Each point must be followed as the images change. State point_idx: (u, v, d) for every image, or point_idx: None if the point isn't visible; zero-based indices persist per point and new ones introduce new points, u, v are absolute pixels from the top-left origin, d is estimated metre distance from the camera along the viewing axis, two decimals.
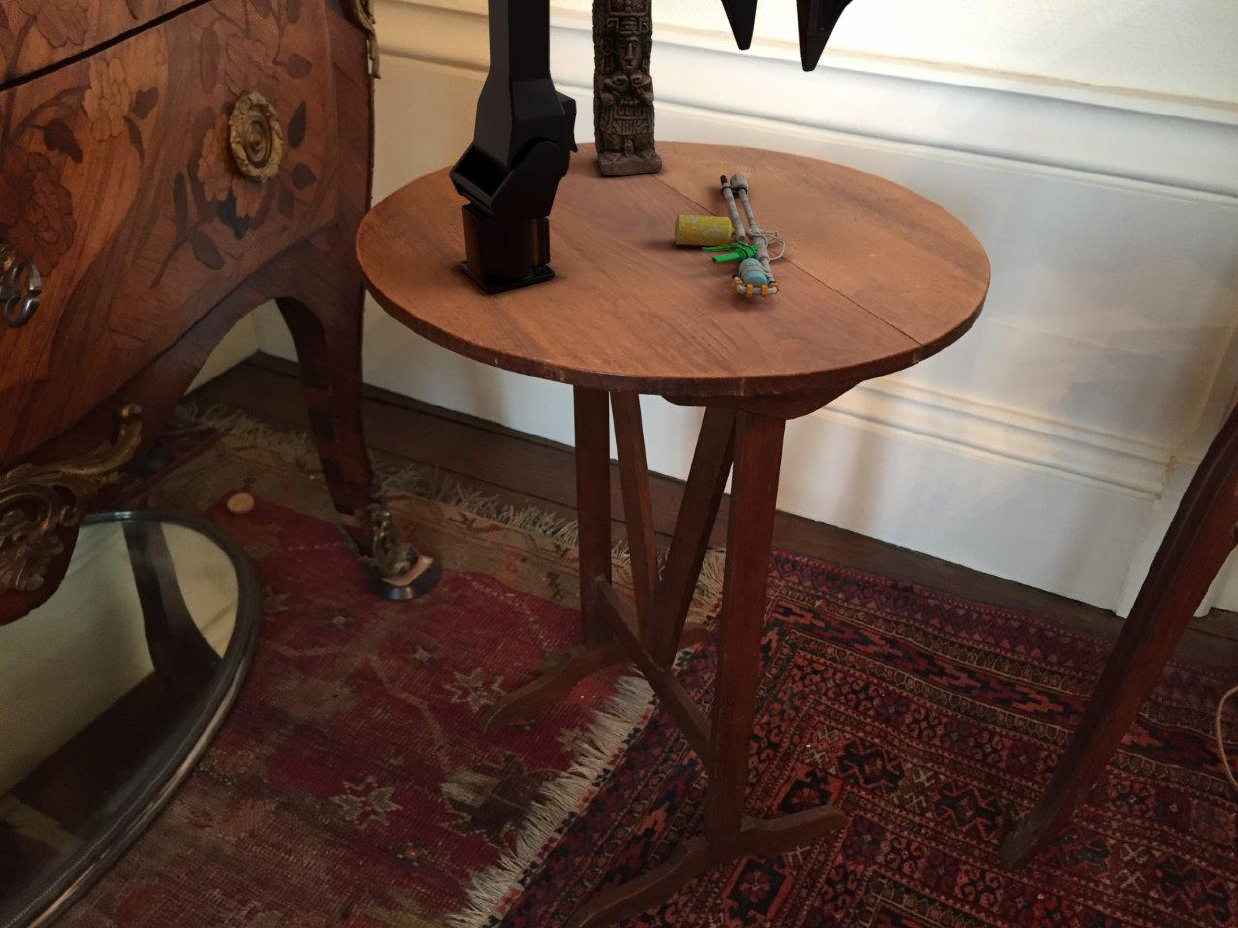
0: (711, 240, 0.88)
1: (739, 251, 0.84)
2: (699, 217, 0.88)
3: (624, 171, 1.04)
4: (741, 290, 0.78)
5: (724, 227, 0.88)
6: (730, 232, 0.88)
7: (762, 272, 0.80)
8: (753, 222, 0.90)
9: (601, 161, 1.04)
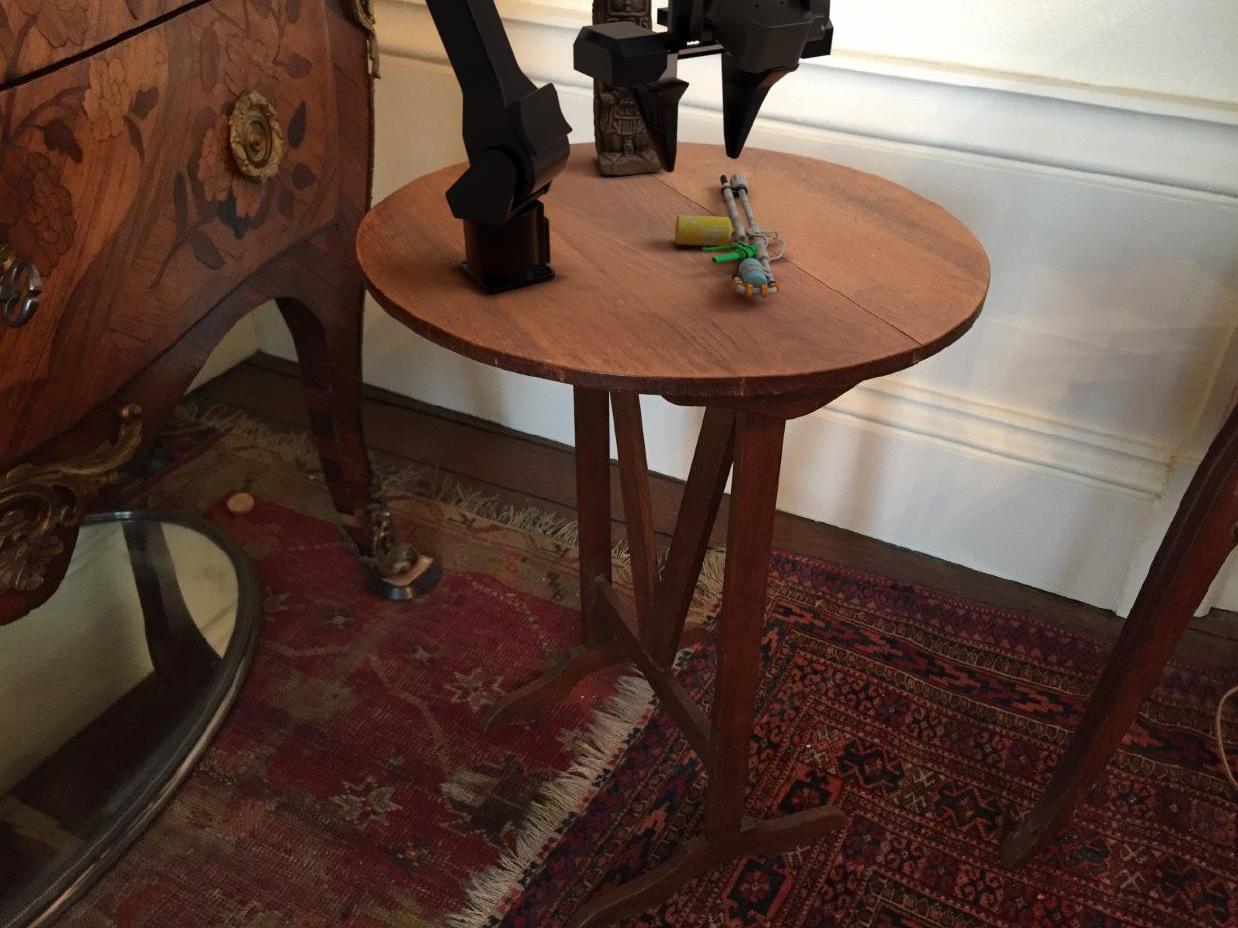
0: (711, 240, 0.88)
1: (739, 251, 0.84)
2: (699, 217, 0.88)
3: (624, 171, 1.04)
4: (741, 290, 0.78)
5: (724, 227, 0.88)
6: (730, 232, 0.88)
7: (762, 272, 0.80)
8: (753, 222, 0.90)
9: (601, 161, 1.04)
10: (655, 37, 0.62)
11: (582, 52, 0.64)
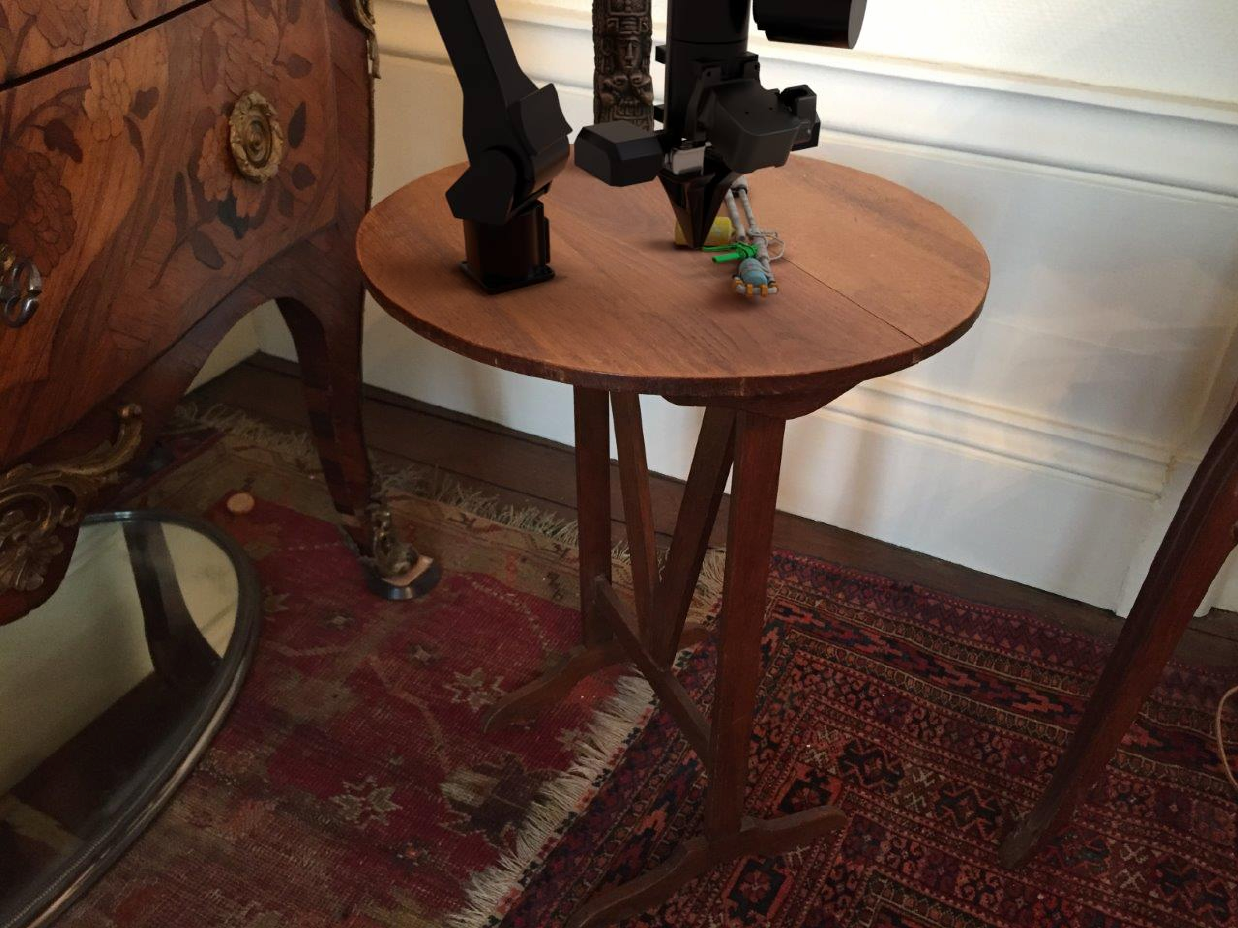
0: (711, 240, 0.88)
1: (739, 251, 0.84)
2: None
3: None
4: (741, 290, 0.78)
5: (724, 227, 0.88)
6: (730, 232, 0.88)
7: (762, 272, 0.80)
8: (753, 222, 0.90)
9: None
10: (651, 139, 0.66)
11: (583, 150, 0.68)
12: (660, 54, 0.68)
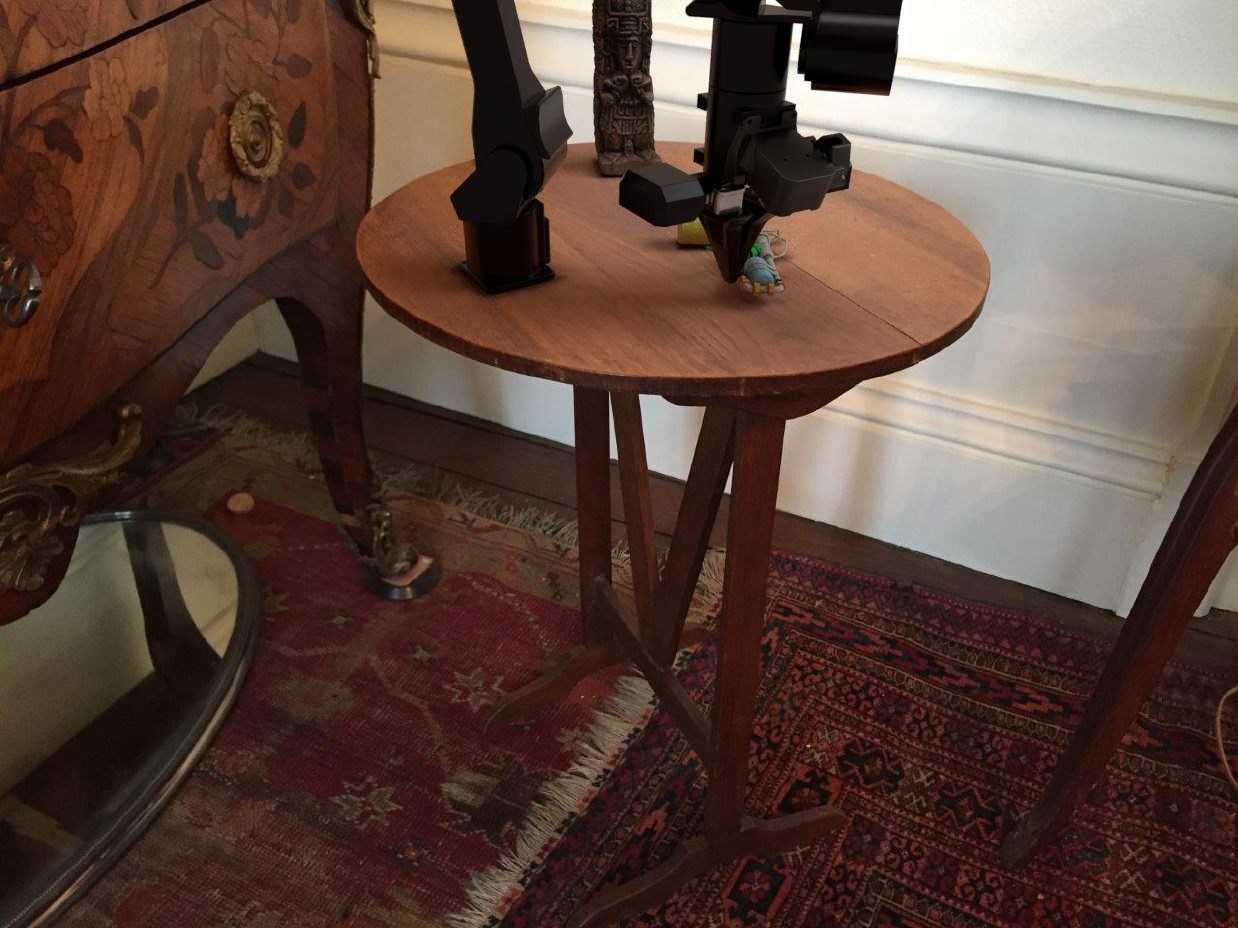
0: None
1: None
2: None
3: (624, 171, 1.04)
4: (748, 288, 0.78)
5: None
6: None
7: (768, 270, 0.80)
8: None
9: (601, 161, 1.04)
10: (694, 183, 0.70)
11: (628, 191, 0.71)
12: (702, 102, 0.72)
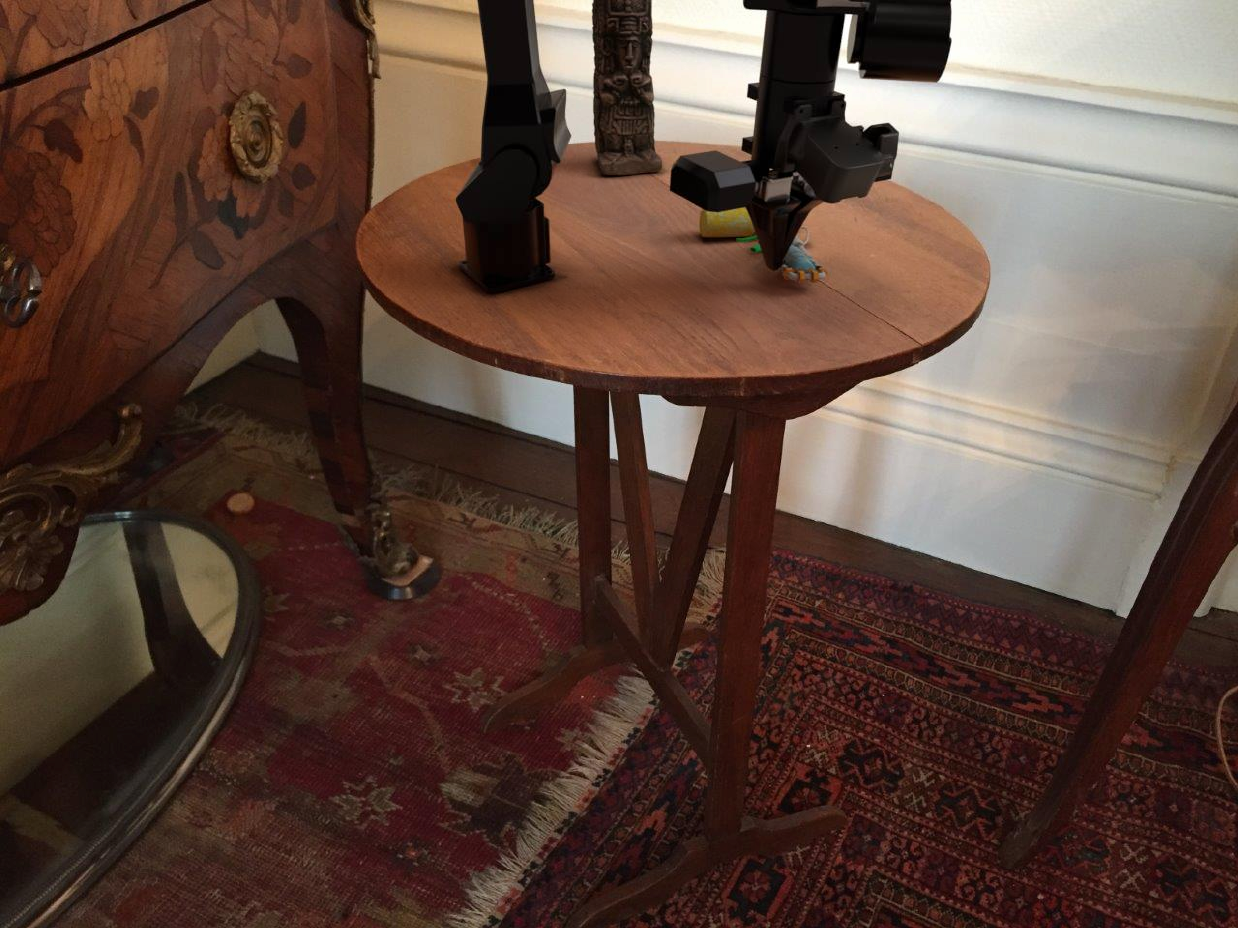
0: (738, 231, 0.90)
1: None
2: None
3: (624, 171, 1.04)
4: (793, 277, 0.80)
5: None
6: None
7: (807, 258, 0.82)
8: None
9: (601, 161, 1.04)
10: (745, 169, 0.71)
11: (680, 178, 0.73)
12: (752, 92, 0.74)
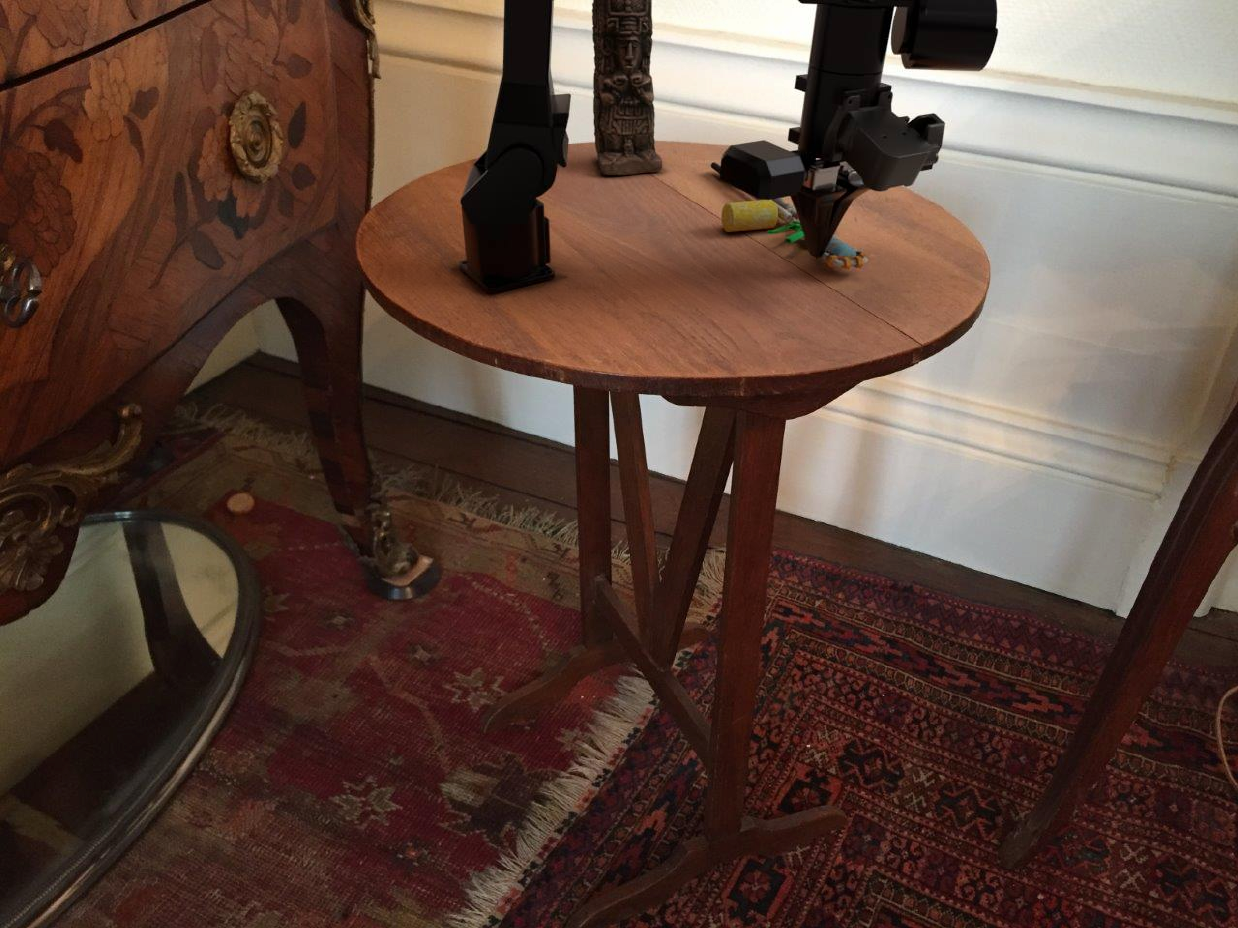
0: (762, 223, 0.91)
1: None
2: (747, 202, 0.91)
3: (624, 171, 1.05)
4: (840, 264, 0.82)
5: (773, 209, 0.91)
6: (777, 213, 0.92)
7: (846, 245, 0.84)
8: (785, 202, 0.95)
9: (601, 161, 1.04)
10: (795, 158, 0.73)
11: (730, 167, 0.75)
12: (800, 83, 0.76)
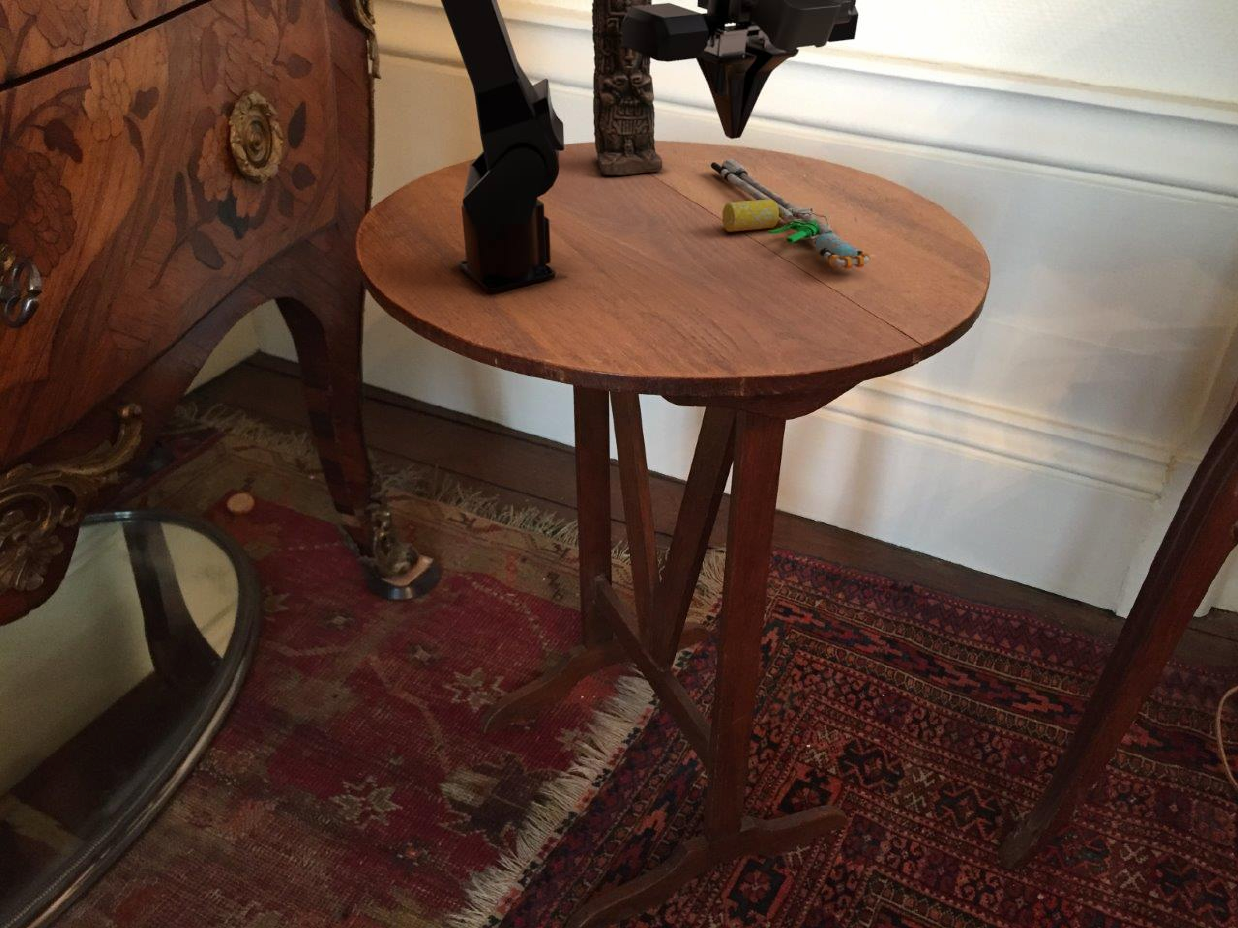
0: (763, 223, 0.91)
1: (804, 229, 0.88)
2: (748, 202, 0.91)
3: (624, 171, 1.05)
4: (841, 263, 0.82)
5: (774, 209, 0.91)
6: (778, 213, 0.92)
7: (848, 244, 0.84)
8: (786, 201, 0.95)
9: (601, 161, 1.04)
10: (698, 17, 0.69)
11: (630, 29, 0.70)
12: None
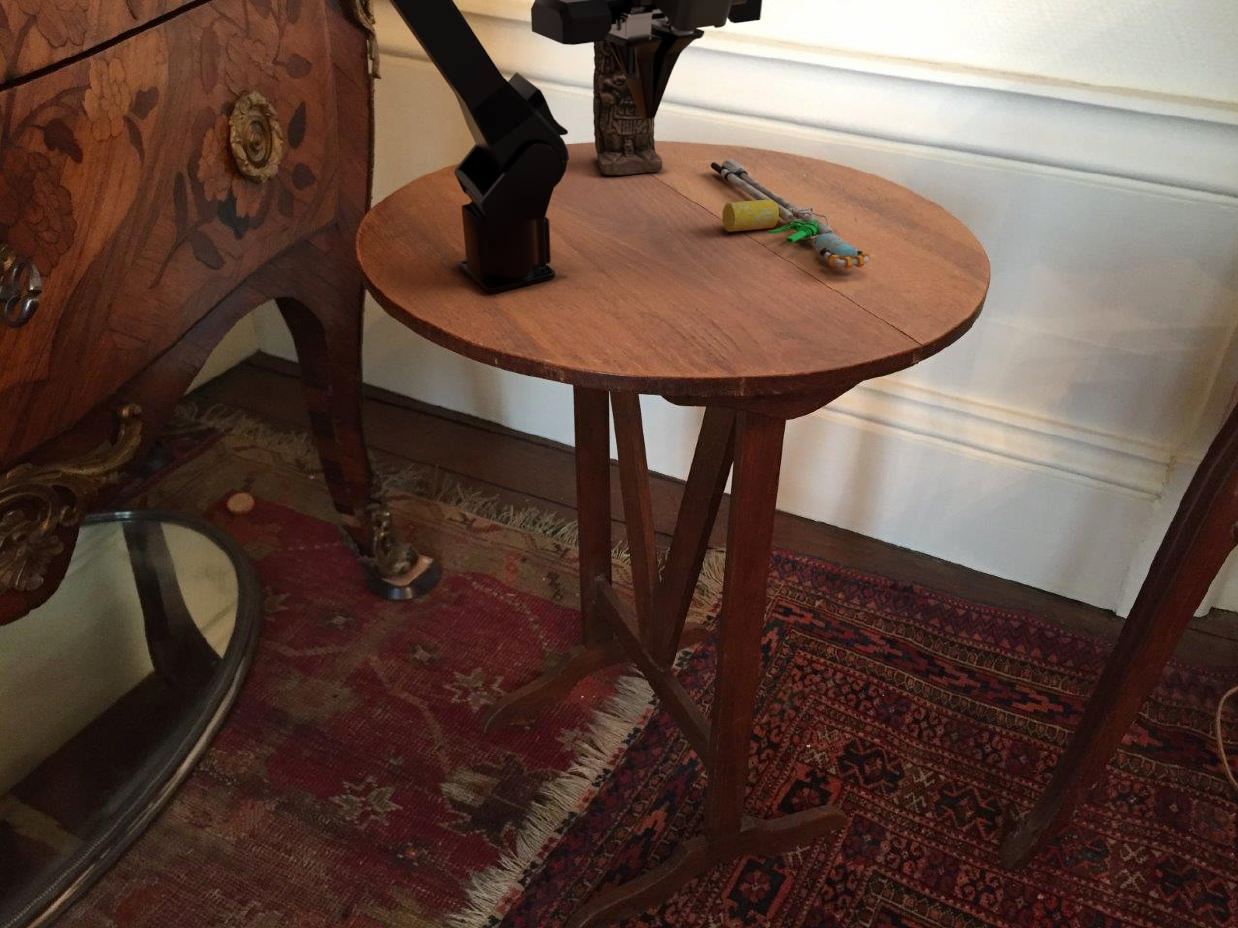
0: (763, 223, 0.91)
1: (804, 229, 0.88)
2: (748, 202, 0.91)
3: (624, 171, 1.05)
4: (841, 263, 0.82)
5: (774, 209, 0.91)
6: (778, 213, 0.92)
7: (848, 244, 0.84)
8: (786, 201, 0.95)
9: (601, 161, 1.04)
10: (601, 1, 0.72)
11: (538, 15, 0.73)
12: None
